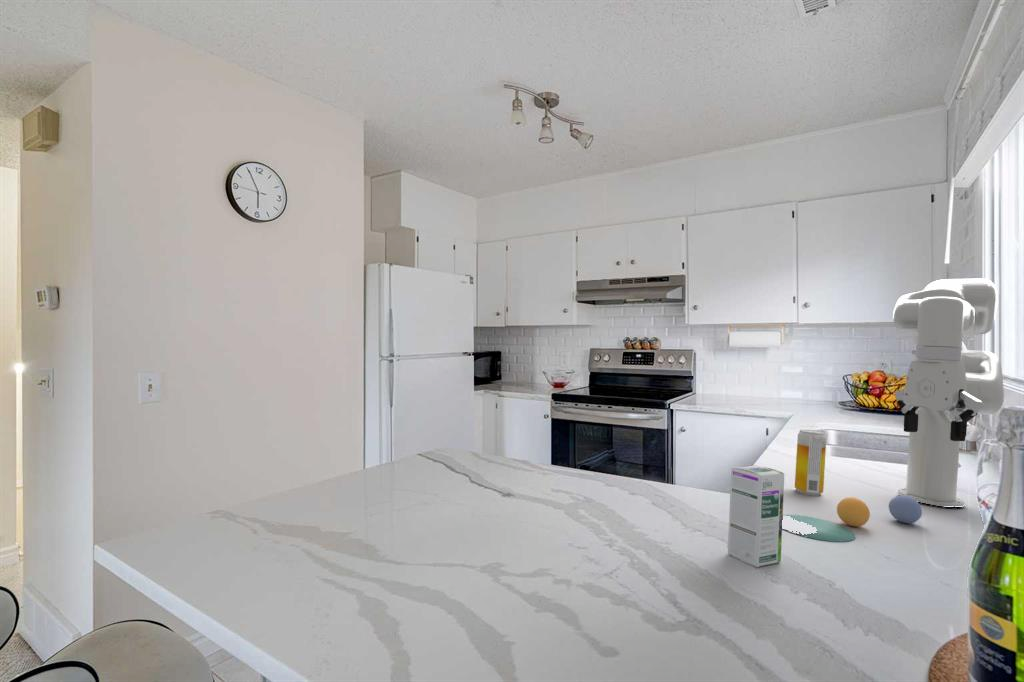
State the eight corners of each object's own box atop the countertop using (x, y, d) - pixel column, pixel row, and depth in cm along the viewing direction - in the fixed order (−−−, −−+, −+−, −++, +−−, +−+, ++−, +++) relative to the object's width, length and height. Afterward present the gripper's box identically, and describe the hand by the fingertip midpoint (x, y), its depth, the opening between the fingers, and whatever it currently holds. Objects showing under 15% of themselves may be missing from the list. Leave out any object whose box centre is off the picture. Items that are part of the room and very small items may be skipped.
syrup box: (757, 568, 81) (762, 474, 81) (725, 553, 86) (731, 465, 86) (781, 563, 83) (786, 472, 83) (749, 549, 89) (754, 463, 89)
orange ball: (835, 518, 108) (836, 492, 108) (867, 524, 106) (868, 497, 106) (837, 526, 103) (838, 498, 103) (870, 532, 101) (872, 504, 101)
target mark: (773, 511, 111) (773, 510, 111) (851, 525, 104) (851, 524, 104) (770, 530, 99) (770, 529, 99) (859, 548, 92) (859, 547, 92)
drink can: (815, 490, 131) (819, 430, 131) (827, 497, 125) (831, 434, 125) (790, 488, 131) (793, 428, 131) (801, 495, 125) (804, 432, 125)
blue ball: (886, 516, 112) (887, 490, 112) (918, 521, 110) (919, 495, 110) (890, 523, 107) (891, 496, 107) (923, 529, 105) (925, 501, 105)
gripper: (885, 353, 119) (881, 428, 119) (969, 356, 102) (964, 444, 102) (911, 354, 120) (906, 428, 120) (997, 358, 104) (992, 444, 104)
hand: (933, 436), depth 111 cm, fingers open, 9 cm apart
